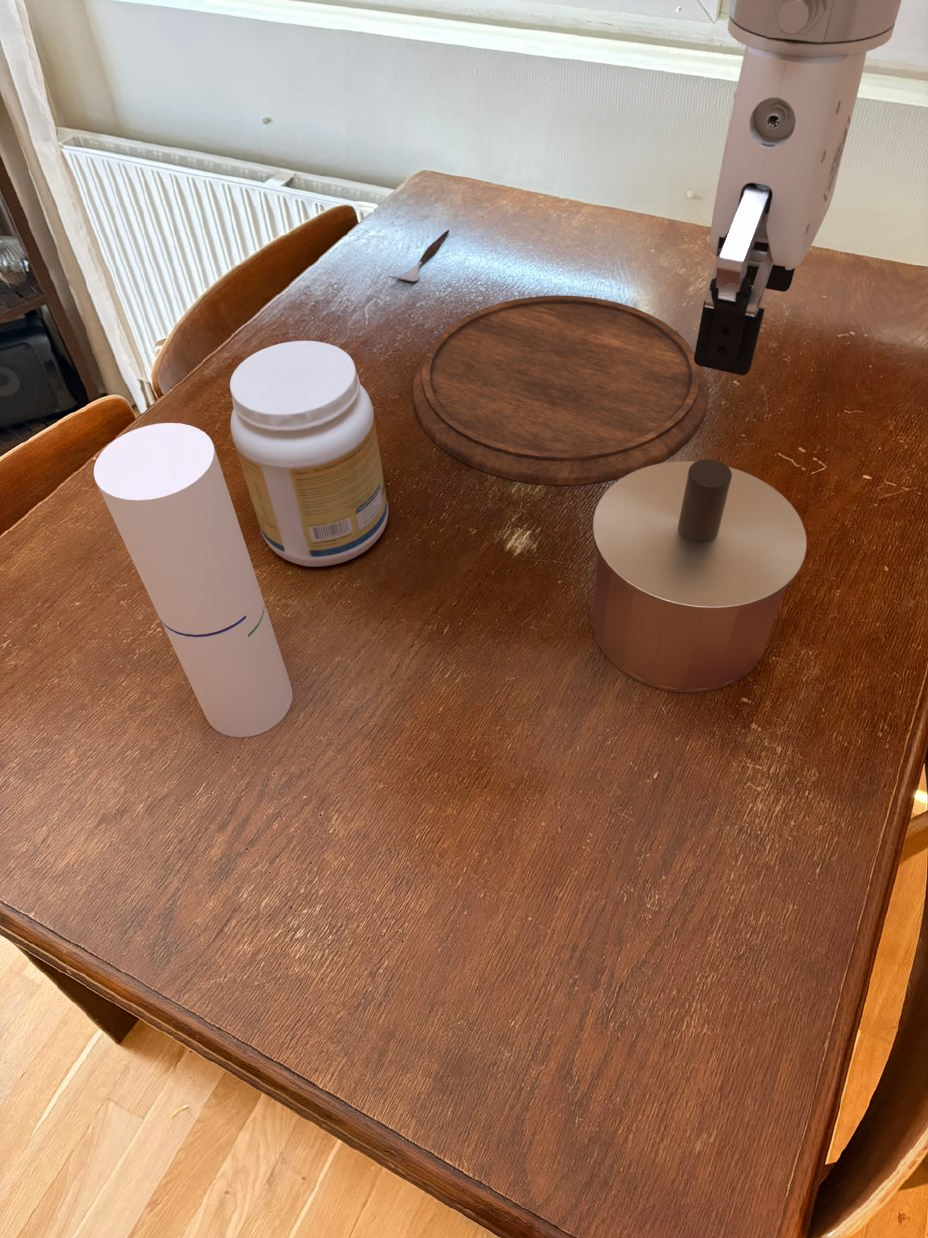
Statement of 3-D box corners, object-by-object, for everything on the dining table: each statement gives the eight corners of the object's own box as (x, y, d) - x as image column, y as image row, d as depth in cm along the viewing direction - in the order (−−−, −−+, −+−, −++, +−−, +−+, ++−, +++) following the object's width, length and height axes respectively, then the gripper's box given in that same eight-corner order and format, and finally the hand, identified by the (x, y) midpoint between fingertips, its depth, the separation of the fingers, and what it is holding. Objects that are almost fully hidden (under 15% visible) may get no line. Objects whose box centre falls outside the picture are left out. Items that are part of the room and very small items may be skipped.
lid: (823, 503, 71) (847, 435, 65) (774, 646, 62) (797, 580, 57) (631, 452, 76) (640, 385, 70) (560, 578, 67) (564, 511, 61)
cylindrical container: (187, 699, 73) (72, 460, 54) (260, 651, 76) (175, 408, 57) (236, 753, 69) (130, 518, 50) (310, 700, 72) (237, 459, 53)
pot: (785, 590, 78) (816, 500, 70) (740, 719, 70) (769, 633, 62) (625, 542, 83) (637, 452, 75) (565, 657, 74) (571, 570, 66)
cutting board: (637, 524, 84) (640, 504, 82) (356, 428, 95) (353, 408, 93) (748, 350, 101) (752, 330, 100) (499, 286, 113) (499, 267, 111)
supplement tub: (403, 490, 88) (385, 339, 76) (370, 580, 81) (343, 428, 68) (287, 477, 90) (249, 328, 78) (243, 564, 83) (194, 413, 70)
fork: (457, 235, 122) (457, 220, 120) (407, 293, 112) (405, 278, 111) (440, 232, 122) (439, 217, 121) (388, 290, 113) (386, 275, 112)
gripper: (865, 68, 35) (770, 420, 48) (929, -51, 45) (835, 269, 58) (680, 47, 38) (637, 388, 51) (779, -62, 48) (722, 248, 61)
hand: (743, 324), depth 55 cm, fingers open, 9 cm apart
